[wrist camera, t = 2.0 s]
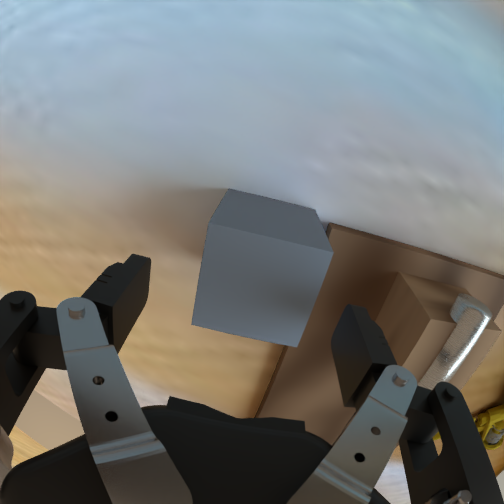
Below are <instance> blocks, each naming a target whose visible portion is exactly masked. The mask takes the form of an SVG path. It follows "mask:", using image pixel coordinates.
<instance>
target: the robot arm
mask: <svg viewBox="0 0 504 504" xmlns="http://www.w3.org/2000/svg"><path fill="white" fill-rule="evenodd" d="M150 269H151V259H150V258H148V257H144V256H140V255H136V254H132V255H131V256H130V257H129V258H128V259H127V260H126V261H125V262H124V264H122V263H119V262H117V263H115V264H113V265H111V266H109V267H107V268H106V269H105V270H104V272H103V273H102V275H100V276H99V277H98V278H97V280H95V281H94V283H93V284H92V285H91V286H90V287H89V288H88V289H87V290H86V291H85V293H84V294H83V295H82V296H81V297H73V298H68V299H66V300H64V301H62V302H61V303H60V304H59V305H58V307H57V308H49V307H40V306H37V304H36V299H35V297H34V296H33V295H32V294H31V293H29V292H26V291H14V292H11V293H8V294H7V295H5V296H4V297H3V298H2V299H1V300H0V504H390V503H389V502H388V501H387V500H386V499H385V498H384V497H383V496H382V495H381V494H380V493H379V492H378V491H377V490H376V489H375V488H374V486H375V485H376V483H377V481H378V479H379V478H380V476H381V474H382V472H383V470H384V468H385V466H386V465H387V463H388V461H389V459H390V457H391V455H392V453H393V451H394V449H395V447H396V445H397V443H398V442H399V446H400V450H401V455H402V459H403V464H404V469H405V474H406V479H407V484H408V489H409V494H410V500H411V504H504V501H503V498H502V495H501V492H500V489H499V485H498V483H497V480H496V476H495V473H494V471H493V468H492V465H491V462H490V460H489V457H488V454H487V452H486V449H485V446H484V444H483V441H482V439H481V436H480V434H479V432H478V429H477V427H476V424H475V422H474V420H473V417H472V415H471V413H470V411H469V408H468V406H467V404H466V402H465V400H464V397H463V395H462V393H461V392H460V391H459V389H458V388H457V387H455V386H454V385H452V384H451V383H448V382H439V383H437V384H436V386H435V387H434V388H433V390H430V389H427V388H424V387H421V386H418V385H417V380H416V378H415V376H414V375H413V374H412V373H411V372H410V371H409V370H407V369H406V368H404V367H402V366H399V365H397V362H396V360H395V358H394V355H393V353H392V351H391V349H390V346H388V342H387V340H386V339H385V335H384V333H383V331H382V329H381V328H380V327H379V326H378V325H377V323H376V322H375V321H373V320H371V318H370V316H369V313H368V311H367V309H366V308H365V307H362V306H357V305H352V304H348V305H346V307H345V309H344V311H343V313H342V315H341V317H340V319H339V322H338V324H337V326H336V328H335V330H334V332H333V335H332V338H331V350H332V354H333V359H334V363H335V368H336V372H337V377H338V381H339V386H340V390H341V395H342V400H343V404H344V407H353V408H355V409H356V412H355V413H354V414H353V416H352V417H351V418H350V420H349V421H348V423H347V424H346V425H345V427H344V428H343V430H342V431H341V432H340V434H339V435H338V436H337V438H336V439H335V440H334V442H333V443H332V444H329V443H328V442H327V441H325V440H324V439H322V438H321V437H319V436H317V435H315V434H313V433H310V432H308V431H305V421H301V420H292V419H284V418H276V417H265V418H244V419H240V418H235V417H232V416H230V415H227V414H225V413H222V412H220V411H218V410H215V409H213V408H211V407H208V406H206V405H204V404H200V403H195V402H191V401H187V400H183V399H179V398H175V397H171V396H170V397H169V400H168V403H167V405H153V406H145V407H141V408H140V405H139V403H138V401H137V399H136V397H135V395H134V392H133V390H132V388H131V386H130V383H129V381H128V379H127V376H126V374H125V372H124V369H123V367H122V364H121V362H120V359H119V357H118V353H119V351H120V349H121V347H122V345H123V344H124V342H125V340H126V338H127V336H128V335H129V333H130V331H131V329H132V327H133V326H134V324H135V322H136V320H137V319H138V317H139V315H140V313H141V312H142V310H143V308H144V306H145V304H146V301H147V298H148V293H149V281H150ZM46 368H52V369H61V370H67V372H68V376H69V380H70V384H71V388H72V392H73V396H74V400H75V403H76V407H77V410H78V414H79V417H80V420H81V423H82V427H83V430H84V433H85V434H84V435H82V436H80V437H77V438H75V439H73V440H71V441H69V442H67V443H65V444H62V445H60V446H58V447H56V448H54V449H52V450H49V451H47V452H45V453H42V454H40V455H38V456H35V457H33V458H31V459H28V460H26V461H24V462H22V463H20V464H18V465H16V466H15V467H14V468H12V467H11V461H12V457H13V451H14V450H13V444H12V442H11V440H10V438H9V437H8V436H9V434H10V432H11V430H12V429H13V427H14V425H15V423H16V421H17V419H18V417H19V415H20V413H21V411H22V410H23V407H24V406H25V404H26V402H27V400H28V399H29V397H30V395H31V393H32V391H33V390H34V388H35V386H36V385H37V383H38V381H39V379H40V378H41V376H42V374H43V373H44V371H45V369H46ZM438 432H439V434H440V437H441V440H442V443H443V447H442V451H441V453H440V455H439V456H438V454H437V451H436V447H435V444H434V441H433V437H434V436H435V435H436V434H437V433H438Z"/></svg>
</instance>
